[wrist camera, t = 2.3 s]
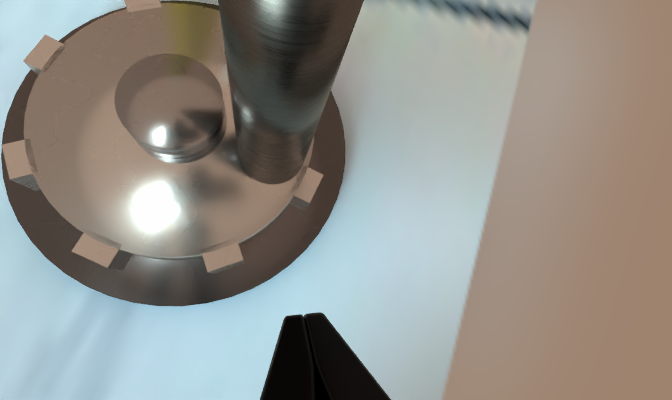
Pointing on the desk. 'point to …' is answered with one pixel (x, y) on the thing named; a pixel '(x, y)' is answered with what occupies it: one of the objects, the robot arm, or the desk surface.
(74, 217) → the sprocket
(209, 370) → the desk surface
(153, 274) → the base plate
